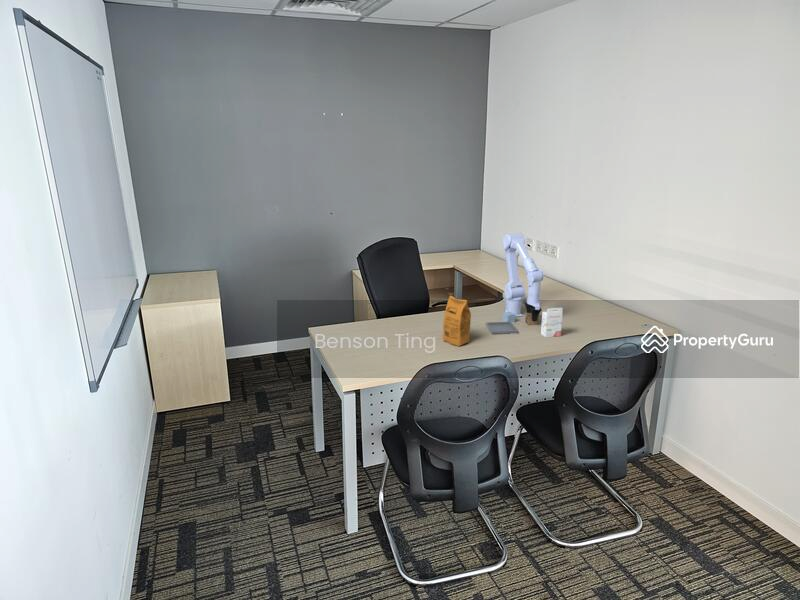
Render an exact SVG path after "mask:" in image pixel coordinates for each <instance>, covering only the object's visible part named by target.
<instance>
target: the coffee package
mask: <svg viewBox="0 0 800 600" xmlns="http://www.w3.org/2000/svg"><path fill="white" fill-rule="evenodd" d="M468 303H469V300H467V299H459V298H458V299H457V298H455V297H454V296H453V295H449V297H448V300H447V303H446V307H445V311H444V316H443V323H442V324H443V325H442V330H443V332H442V341H443V342H447V343H448V344H450V345H452V346H457V347H461V346H462V345H464V344H467V343H469V342H470V336H471V335H470V334H471V318H472V313H471V311H470V307H469V306H468Z"/></svg>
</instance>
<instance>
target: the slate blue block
mask: <svg viewBox="0 0 800 600" xmlns="http://www.w3.org/2000/svg"><path fill="white" fill-rule="evenodd" d="M504 321H505V322H513V323H516V322H515V321H516V316H515V314H514V313H512V312H506V313H505V312H503V313H502V322H504Z"/></svg>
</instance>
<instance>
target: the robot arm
mask: <svg viewBox="0 0 800 600" xmlns="http://www.w3.org/2000/svg"><path fill="white" fill-rule="evenodd" d="M525 244H526V238H525V236H524V234H523V233H522V232H519V233H509V234H508V233H506V234H505V235H504V237H503V239H502V245H503V250H504V253H505V261H506V269H507V276H508V282H507V283H506V284H505V286H504V287H505V289H504V292H505V296H506V297H507V300H506V303H505V309H504V310H503V312H504V311H505V312H504V313H506V312H512V313H514V314H515V317H524V315H523V314H522V304H521V299H523V297H524V296H525V294H526V288H525V286H524V283H523V282H522V281H520V278H519V271H518V270H519V269H518V264H517V262H516V254H515V252H518V253H519V257H521V259H522V265H523V267H524V268H523V269H524V270H525V272H526V279H527V285H528V288H527V297H526V302H523V304H524V306H525V310H526V313H531V314H532V321H537V318H538V319H539V316H540V313H542V312H543V311H542V308H541V306H540V304H542V301H540V294H541V293H540V292H541V282H543V279H544V273H543V271H542V270H541V269H539V268H538V267H537V263H535V261H534V258H532V257H530V254H529V252H528V250H527V246H526V245H525ZM513 286H516V287H513Z"/></svg>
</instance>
